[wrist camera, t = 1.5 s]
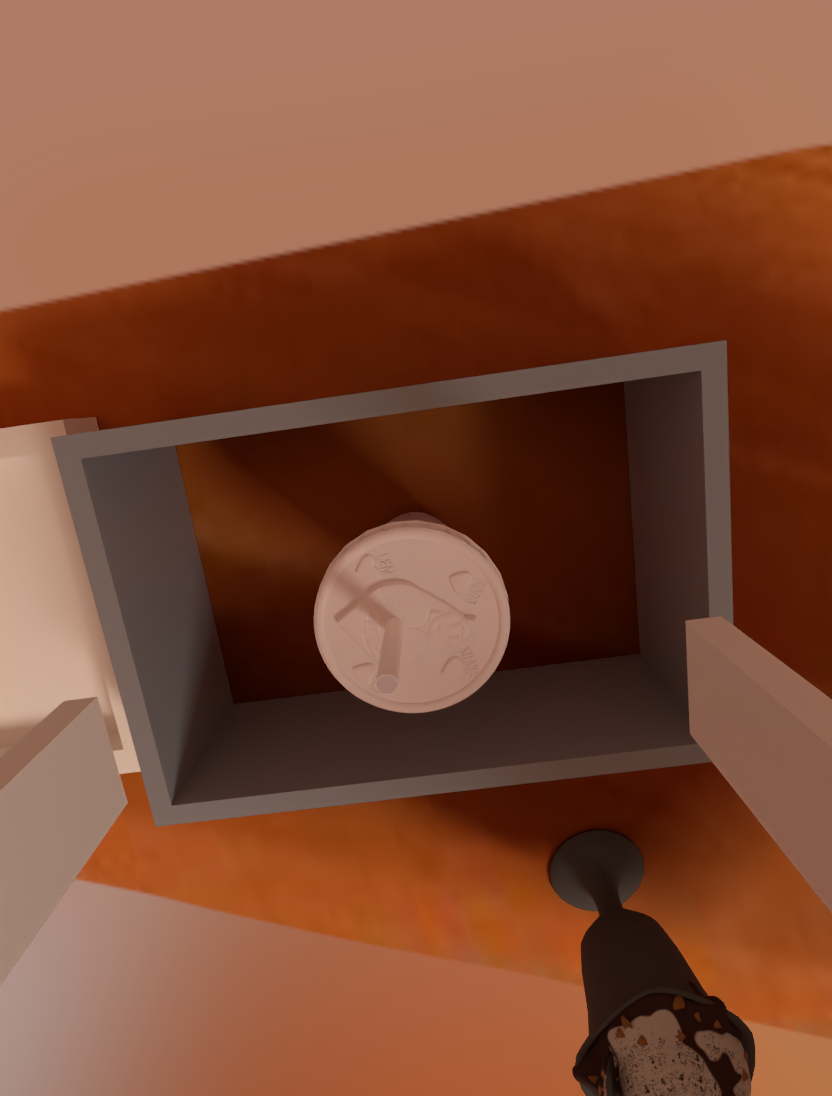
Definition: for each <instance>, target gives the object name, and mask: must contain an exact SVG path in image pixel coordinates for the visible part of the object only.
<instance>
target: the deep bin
mask: <svg viewBox="0 0 832 1096" xmlns="http://www.w3.org/2000/svg"><path fill="white" fill-rule="evenodd" d="M616 382H623V383H624V399H625V415H626V432H627V448H628V464H629V481H630V497H631V514H632V530H633V546H634V563H635V579H636V596H637V612H638V628H639V645H640V654H632V655H624V656H616V657H608V658H600V659H592V660H584V661H576V662H568V663H560V664H552V665H544V666H536V667H528V668H520V669H511V670H503V671H495V672H494V673H493V674H492V675H491V677H490V678H489V679H488V680H487V681H486V682H485V683H484V684H483V685H482V686H481V687H480V688H479V689H478V690H477V691H475V692H474V693H473V694H471V695H470V696H469V697H467V698H465V699H464V700H462V701H460V702H458V703H456V704H454V705H451V706H449V707H446V708H443V709H439V710H436V711H430V712H423V713H402V712H395V711H389V710H386V709H382V708H379V707H376V706H374V705H371V704H369V703H367V702H365V701H363V700H361V699H360V698H358V697H356V696H355V695H353V694H352V693H351V692H349V691H348V690H342V691H334V692H326V693H318V694H310V695H302V696H294V697H286V698H278V699H270V700H261V701H253V702H245V703H237V704H234V703H233V699H232V694H231V690H230V686H229V681H228V677H227V672H226V668H225V664H224V659H223V655H222V650H221V646H220V641H219V637H218V633H217V628H216V624H215V619H214V615H213V611H212V606H211V602H210V597H209V593H208V588H207V584H206V580H205V575H204V571H203V566H202V562H201V558H200V553H199V549H198V544H197V540H196V535H195V531H194V527H193V522H192V518H191V513H190V509H189V504H188V500H187V496H186V491H185V487H184V482H183V478H182V474H181V469H180V465H179V460H178V456H177V451H176V447H175V445H181V444H188V443H195V442H202V441H209V440H216V439H223V438H230V437H237V436H244V435H251V434H258V433H266V432H273V431H280V430H287V429H294V428H301V427H308V426H315V425H322V424H329V423H336V422H343V421H350V420H357V419H364V418H371V417H378V416H385V415H392V414H399V413H406V412H413V411H420V410H427V409H434V408H441V407H448V406H455V405H462V404H469V403H476V402H483V401H490V400H497V399H504V398H511V397H518V396H525V395H532V394H539V393H546V392H553V391H560V390H567V389H574V388H581V387H588V386H595V385H602V384H609V383H616ZM51 442H52V446H53V449H54V453H55V457H56V460H57V464H58V468H59V471H60V475H61V479H62V482H63V486H64V490H65V494H66V497H67V501H68V505H69V508H70V512H71V516H72V519H73V523H74V527H75V530H76V534H77V538H78V541H79V545H80V549H81V553H82V556H83V560H84V564H85V567H86V571H87V575H88V578H89V582H90V586H91V589H92V593H93V597H94V600H95V604H96V608H97V612H98V615H99V619H100V623H101V626H102V630H103V634H104V637H105V641H106V645H107V648H108V652H109V656H110V659H111V663H112V667H113V671H114V674H115V678H116V682H117V685H118V689H119V693H120V696H121V700H122V704H123V707H124V711H125V715H126V718H127V722H128V726H129V730H130V733H131V737H132V741H133V744H134V748H135V752H136V755H137V759H138V763H139V766H140V770H141V774H142V777H143V781H144V785H145V788H146V792H147V796H148V800H149V803H150V807H151V811H152V814H153V818H154V822H155V825H156V827H157V826H166V825H174V824H183V823H191V822H200V821H209V820H217V819H226V818H234V817H243V816H252V815H260V814H269V813H277V812H286V811H295V810H303V809H312V808H321V807H329V806H338V805H346V804H355V803H364V802H372V801H381V800H389V799H398V798H407V797H415V796H424V795H433V794H441V793H450V792H458V791H467V790H476V789H484V788H493V787H501V786H510V785H519V784H527V783H536V782H544V781H553V780H562V779H570V778H579V777H588V776H596V775H605V774H613V773H622V772H631V771H639V770H648V769H656V768H665V767H674V766H682V765H691V764H700V763H708V762H712V761H711V760H710V759H709V757H708V756H707V755H706V753H705V752H704V751H703V750H702V748H701V747H700V746H699V745H698V743H697V742H696V741H695V740H694V738H693V737H692V736H691V734H690V725H689V699H688V673H687V647H686V620H694V619H702V618H710V617H717V616H722V617H723V618H724V619H726V620H727V621H728V622H730V623H731V624H732V625H733V586H732V543H731V501H730V459H729V417H728V375H727V340H723V341H716V342H709V343H702V344H696V345H689V346H682V347H675V348H668V349H661V350H654V351H647V352H640V353H633V354H626V355H619V356H612V357H605V358H598V359H592V360H585V361H578V362H571V363H564V364H557V365H550V366H543V367H536V368H529V369H522V370H515V371H508V372H501V373H495V374H488V375H481V376H474V377H467V378H460V379H453V380H446V381H439V382H432V383H425V384H418V385H411V386H404V387H397V388H391V389H384V390H377V391H370V392H363V393H356V394H349V395H342V396H335V397H328V398H321V399H314V400H307V401H300V402H294V403H287V404H280V405H273V406H266V407H259V408H252V409H245V410H238V411H231V412H224V413H217V414H210V415H203V416H197V417H190V418H183V419H176V420H169V421H162V422H155V423H148V424H141V425H134V426H127V427H120V428H113V429H106V430H99V431H93V432H86V433H79V434H72V435H65V436H58V437H51Z"/></svg>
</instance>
